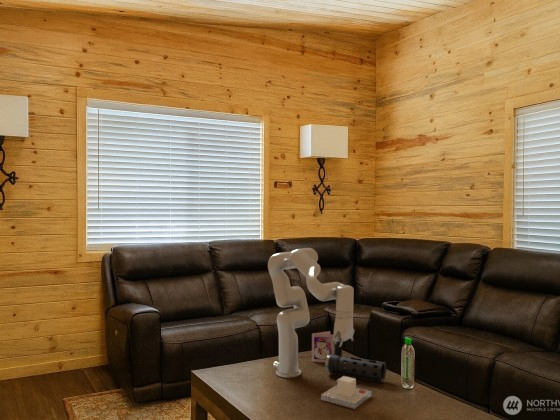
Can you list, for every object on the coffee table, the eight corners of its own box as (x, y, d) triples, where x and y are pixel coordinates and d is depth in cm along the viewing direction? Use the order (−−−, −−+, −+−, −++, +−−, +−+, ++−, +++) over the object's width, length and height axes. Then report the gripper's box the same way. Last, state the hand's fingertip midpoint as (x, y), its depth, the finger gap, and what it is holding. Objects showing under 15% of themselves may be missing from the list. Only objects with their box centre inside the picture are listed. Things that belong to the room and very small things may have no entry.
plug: (333, 397, 217) (333, 378, 217) (339, 392, 222) (339, 375, 222) (349, 401, 213) (349, 382, 213) (355, 397, 217) (355, 378, 217)
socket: (321, 400, 215) (321, 393, 215) (339, 388, 228) (339, 382, 228) (354, 409, 206) (354, 402, 206) (371, 396, 219) (371, 389, 219)
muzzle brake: (380, 387, 230) (380, 364, 230) (324, 376, 244) (324, 355, 243) (386, 380, 239) (386, 359, 238) (331, 370, 252) (331, 350, 252)
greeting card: (311, 362, 265) (311, 334, 264) (313, 357, 272) (313, 330, 272) (333, 363, 263) (333, 335, 263) (334, 358, 270) (334, 331, 270)
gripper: (346, 308, 227) (345, 346, 228) (327, 316, 213) (326, 356, 214) (361, 311, 223) (360, 349, 224) (342, 319, 209) (341, 359, 210)
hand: (343, 352), depth 219 cm, fingers open, 9 cm apart
